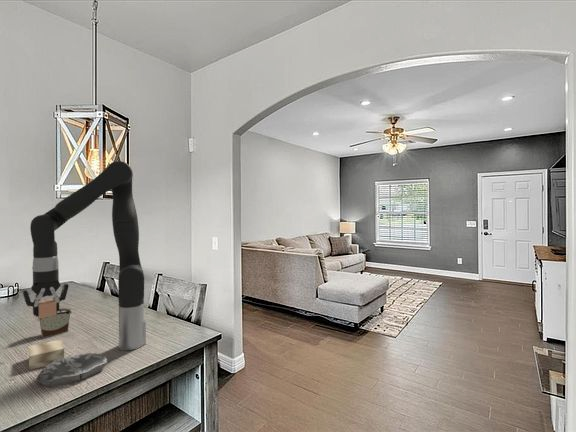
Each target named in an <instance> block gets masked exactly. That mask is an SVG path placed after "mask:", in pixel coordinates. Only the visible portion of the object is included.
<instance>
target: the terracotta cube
mask: <svg viewBox="0 0 576 432" xmlns="http://www.w3.org/2000/svg"><path fill="white" fill-rule="evenodd" d="M38 307H39V316H38V317H37V319H38V318H39V319H41V318H46V317H51V316H55V315H56V301H55V300H54V299H53V298H51V299H46V300H40V302H39V304H38Z"/></svg>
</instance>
